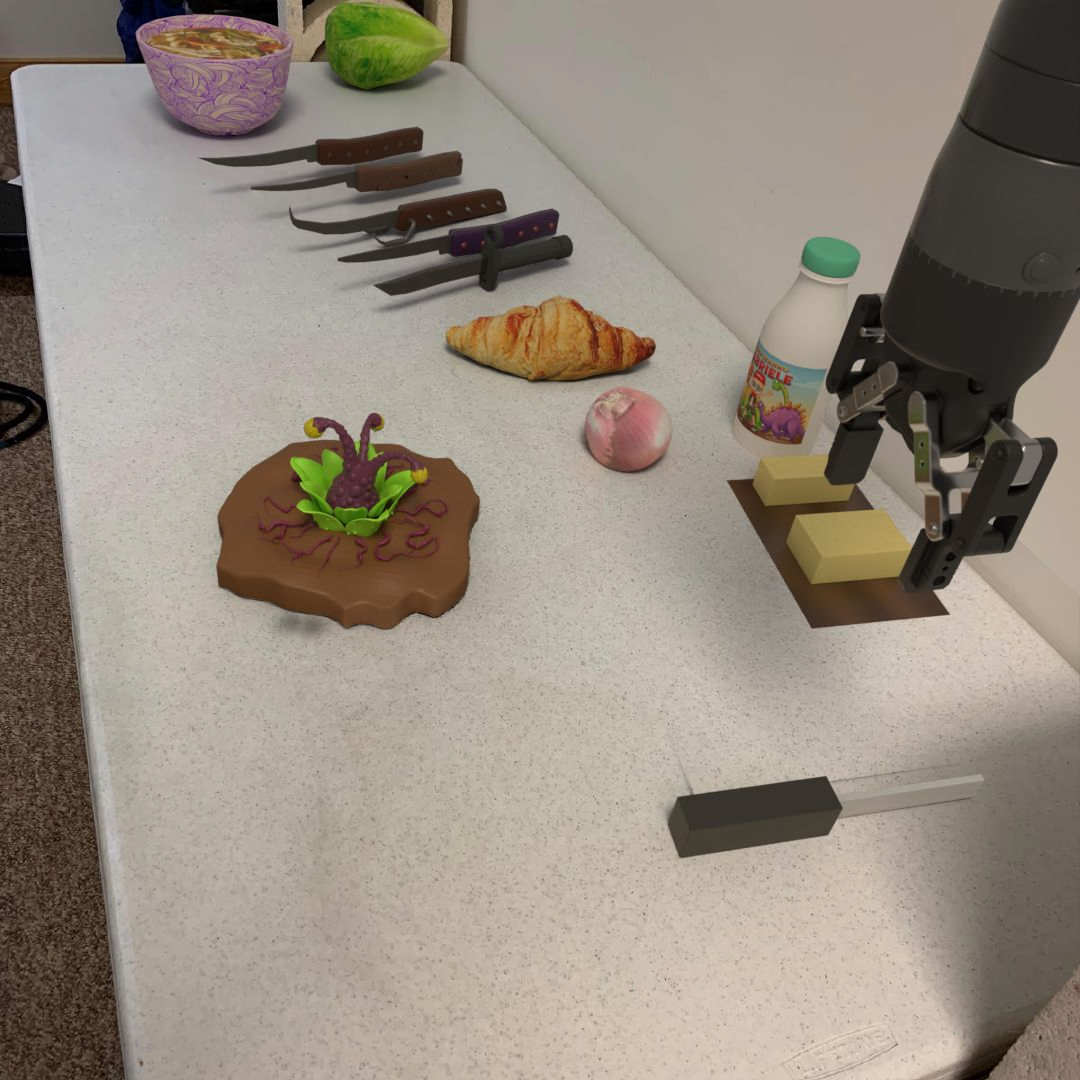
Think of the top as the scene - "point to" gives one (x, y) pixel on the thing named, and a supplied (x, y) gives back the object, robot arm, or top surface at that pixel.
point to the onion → (627, 429)
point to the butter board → (835, 598)
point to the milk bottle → (797, 355)
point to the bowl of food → (217, 70)
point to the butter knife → (791, 811)
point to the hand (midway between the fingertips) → (877, 530)
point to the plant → (349, 529)
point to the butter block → (848, 546)
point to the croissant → (550, 342)
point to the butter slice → (797, 481)
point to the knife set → (419, 210)
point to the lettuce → (380, 43)
